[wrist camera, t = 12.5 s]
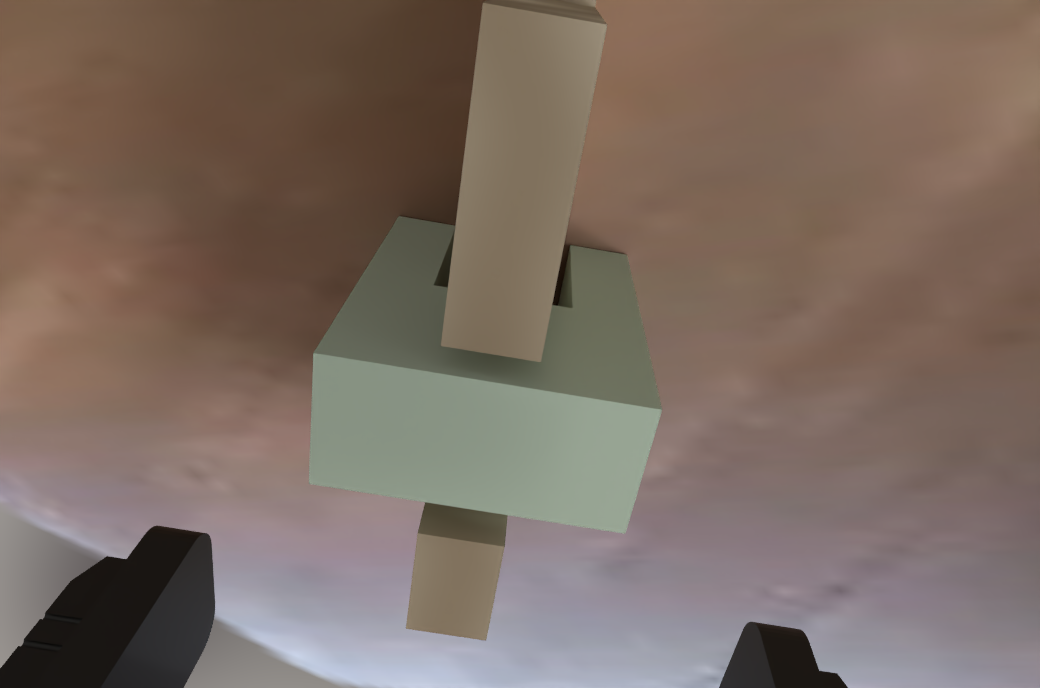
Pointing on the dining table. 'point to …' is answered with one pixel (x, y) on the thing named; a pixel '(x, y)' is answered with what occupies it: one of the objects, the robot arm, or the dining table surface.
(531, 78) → the maple board
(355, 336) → the notched block
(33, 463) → the dining table surface
